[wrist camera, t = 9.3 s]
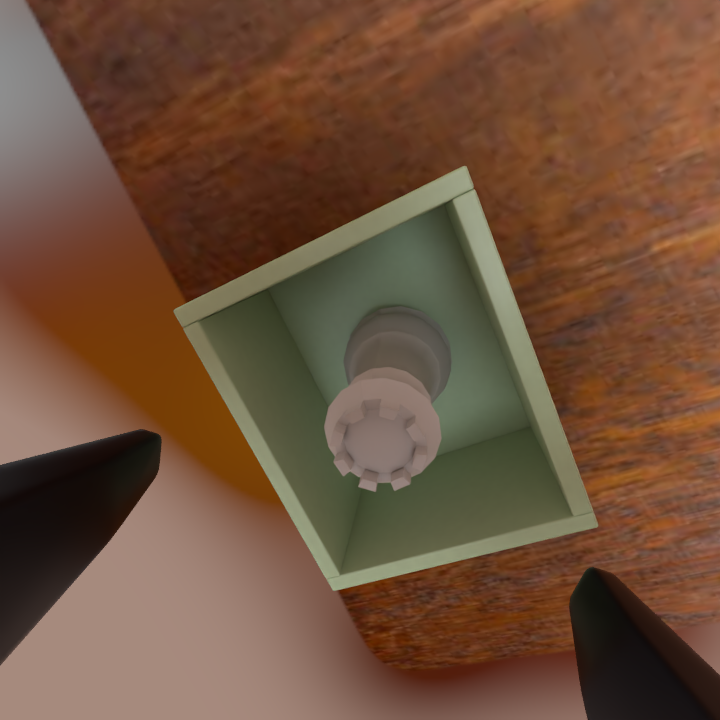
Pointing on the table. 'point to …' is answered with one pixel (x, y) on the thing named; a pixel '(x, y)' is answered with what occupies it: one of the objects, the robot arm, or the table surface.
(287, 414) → the bin
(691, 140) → the table surface
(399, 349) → the rook chess piece
